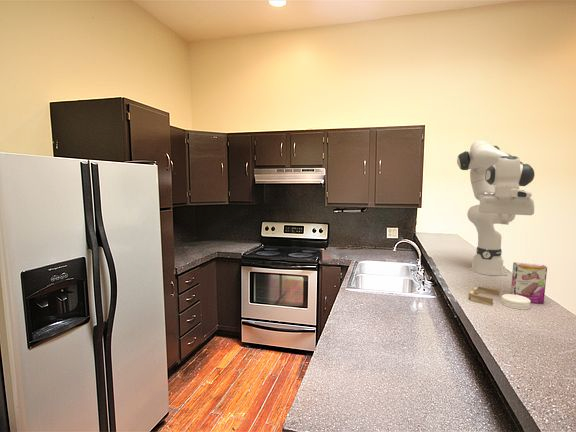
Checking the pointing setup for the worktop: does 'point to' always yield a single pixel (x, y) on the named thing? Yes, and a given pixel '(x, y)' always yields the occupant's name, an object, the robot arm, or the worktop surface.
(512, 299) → the coaster
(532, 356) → the worktop surface
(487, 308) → the worktop surface
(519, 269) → the candy bar box
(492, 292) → the holder
